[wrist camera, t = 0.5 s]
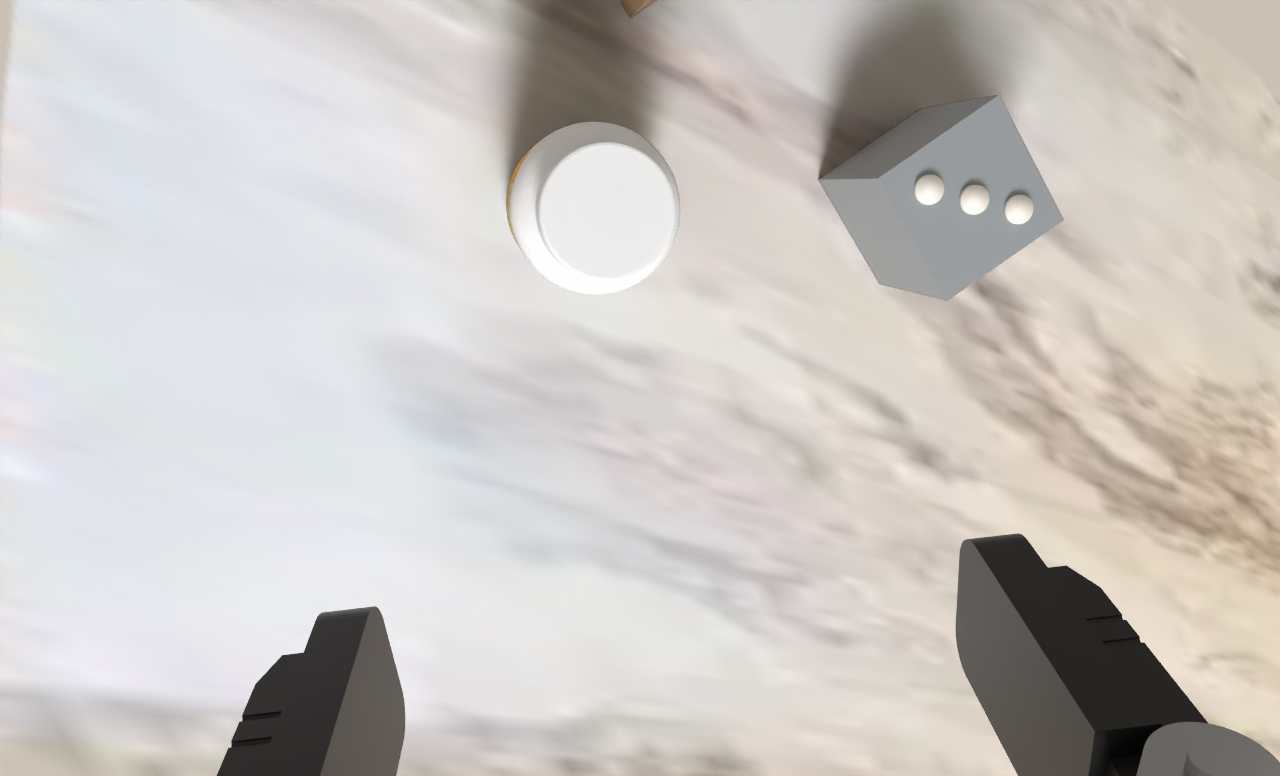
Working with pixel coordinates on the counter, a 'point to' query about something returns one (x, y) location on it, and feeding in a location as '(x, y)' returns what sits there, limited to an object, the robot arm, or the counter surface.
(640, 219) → the supplement bottle
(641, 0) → the walnut two pip block
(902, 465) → the counter surface
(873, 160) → the slate three pip block
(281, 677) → the robot arm
